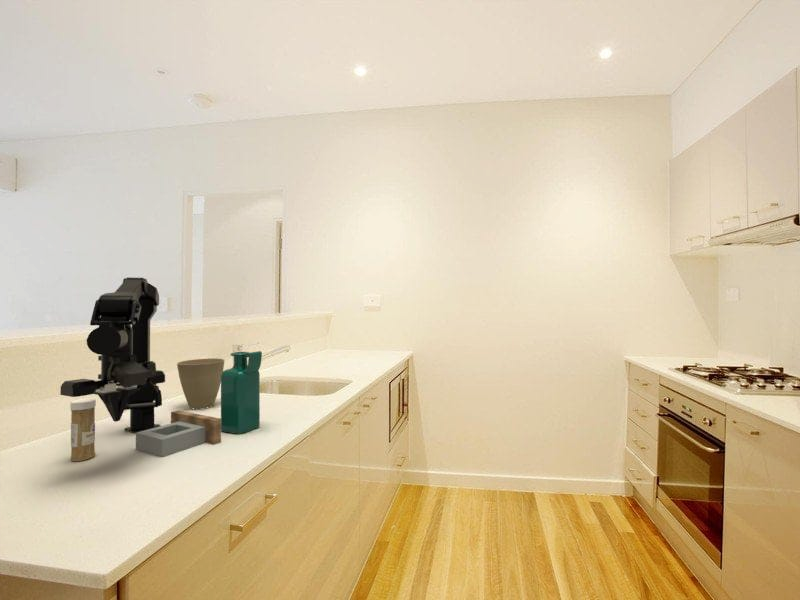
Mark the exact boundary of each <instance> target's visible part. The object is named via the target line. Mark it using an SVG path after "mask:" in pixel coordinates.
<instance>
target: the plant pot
mask: <svg viewBox="0 0 800 600" xmlns="http://www.w3.org/2000/svg"><path fill="white" fill-rule="evenodd" d="M224 366H225V359H224V358H217V357H216V358H215V357H214V358H212V357H209V358H198V359H188V360H182V361H179V362H177V363H176V367H177V371H178V378H179V381H180V385H181V389H182V392H183V395H184V397H185V400H186V402H187V404H188V406H189V408H190V409H191V408H194V409H193V410H202V409H201V408H205V409H208V408H207V407H209V408H211V406H212V407H213V406H214V405H215V402H216V400H217V397H218V394H219V392H220V391H219V390H220V388H221V374H222V372H223V371H224Z"/></svg>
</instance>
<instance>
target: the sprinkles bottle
mask: <svg viewBox="0 0 800 600" xmlns="http://www.w3.org/2000/svg"><path fill="white" fill-rule="evenodd" d="M96 403H97V402H96V398H93V397H85V398H79V399H75V400H72V401H70V406H69V407H70V412H71V414H70V415H71V418H70V422H71V423H70V448H71V450H70V451H71V455H70V461H72V462H83V461H88V460H89V459H91V458H94V457H95V456H96V452H95V451H96V450H95V443H96V422H95V420H96V419H95V416H96V415H95V414H96V413H95V410H96V408H95V407H96V405H97V404H96Z"/></svg>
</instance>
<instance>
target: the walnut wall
mask: <svg viewBox="0 0 800 600" xmlns="http://www.w3.org/2000/svg"><path fill="white" fill-rule="evenodd" d="M178 421H180V422H185V423H190V424H194V425H199V426H204V427H206V443H207V444H211V445H217V444H220V443H221V442H222V431H221V417H220V418H219V417H214V416H210V415H204V414H198V413H193V412H188V411H184V410H173V411H171V412H170V424H171V423H175V422H178Z"/></svg>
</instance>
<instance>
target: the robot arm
mask: <svg viewBox="0 0 800 600" xmlns="http://www.w3.org/2000/svg"><path fill="white" fill-rule="evenodd" d="M159 305H160V295H159V291H158V288H157V287H156V286H154V285H152V284H150V283H149V282H148V279H147V278H144V277H125V278H123V280H122V284H120V285H119V286H118V288H117V289H116V290H115V291H113V292H107V293H104V294H101V295H100V296H99V297H98V299H96V300H95V303H94V307H93V311H92V315H91V319H90V322H89V325H90V326H98V327H96V328H94V329H93V330H92V331H91V332H90V333H89V334H88V335H87V338H86V345H87V347H88V349H89V350H90V351H91V352H93V353H94V354H96V355H98V357H97V360H98V361H100V362H101V368H100V369H101V370H100V374H97V379H98V380H95V379H88V378H79V379H71V380H65V381H63V382H62V384H61V385H60V392H59V393H60V395H61V396H65V397H71V398H76V397H77V398H78V397H84V396H85V397H86V396H90V395H97V396H98V398H100V400H101V401H102V403H103V404H104V406H105V408H106V410H107V411H108V413H109V415H110V417H111V419H112V421H113V422H119V421H121V419H122V416H123V415H124V411H127V410H130V411H129V413H130V414H129V419H130V420H129V421H130V422H129V426H127V427H124V429H125V430H124V429H123V430H124V431H127V432H130V431H131V432H130V433H135V434H136V433H137V432H141V431H144V430H148V429H152V428H156V427H159V426H161V425H160V424H157V423H156V424H155V408H159V407H160V406H161V407H162V405H163V398H162V391H161V390H160V387H159V385H158V384H164V383H166V374H165V372H164V371H163V370H158V369H157V365H156V362H155V361H153V360H151V320H152V318H153V317H154V316H155V314H156V312H157V309H158V307H159Z"/></svg>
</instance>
